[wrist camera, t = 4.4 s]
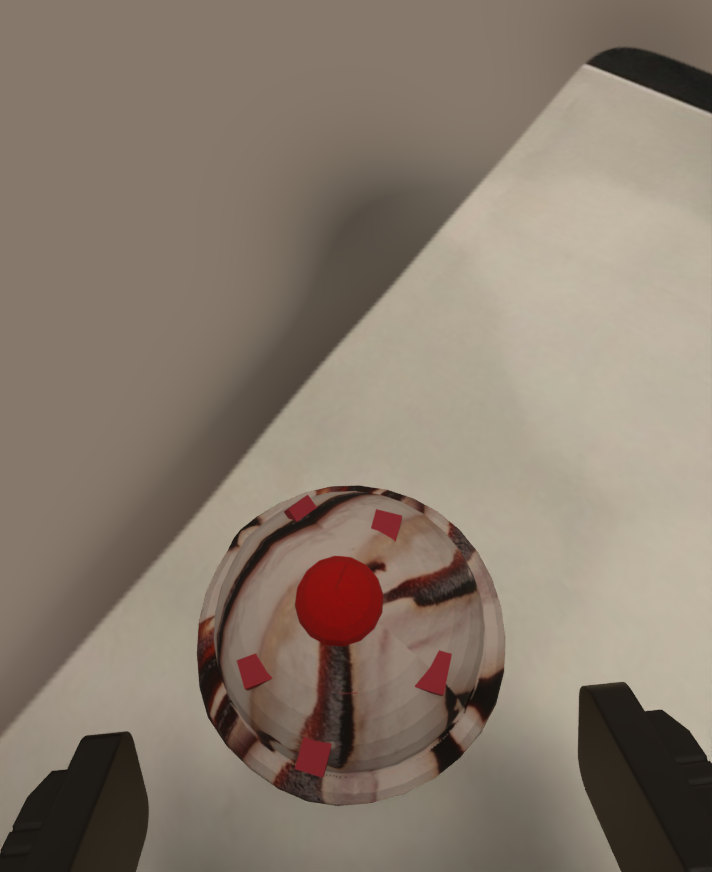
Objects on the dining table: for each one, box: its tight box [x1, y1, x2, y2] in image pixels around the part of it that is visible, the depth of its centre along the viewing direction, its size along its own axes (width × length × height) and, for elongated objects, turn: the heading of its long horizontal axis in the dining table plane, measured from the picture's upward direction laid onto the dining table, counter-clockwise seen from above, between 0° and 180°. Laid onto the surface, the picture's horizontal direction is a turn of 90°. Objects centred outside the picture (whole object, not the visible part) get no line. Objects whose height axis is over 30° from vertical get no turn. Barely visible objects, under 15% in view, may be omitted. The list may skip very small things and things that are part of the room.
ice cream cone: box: [197, 486, 505, 806], centre depth 16 cm, size 6×6×15 cm
